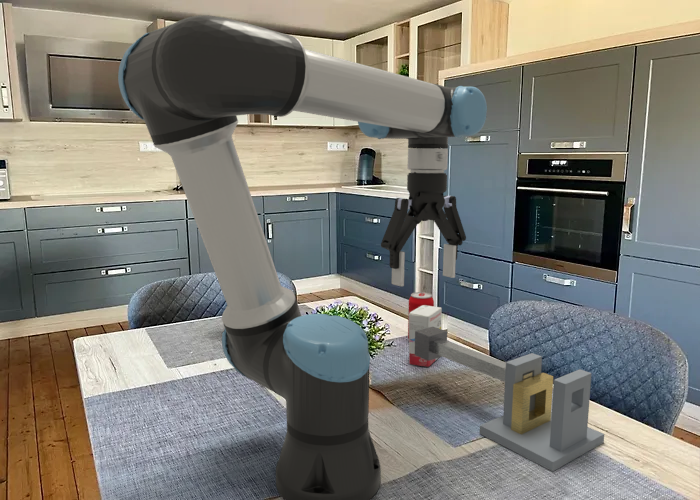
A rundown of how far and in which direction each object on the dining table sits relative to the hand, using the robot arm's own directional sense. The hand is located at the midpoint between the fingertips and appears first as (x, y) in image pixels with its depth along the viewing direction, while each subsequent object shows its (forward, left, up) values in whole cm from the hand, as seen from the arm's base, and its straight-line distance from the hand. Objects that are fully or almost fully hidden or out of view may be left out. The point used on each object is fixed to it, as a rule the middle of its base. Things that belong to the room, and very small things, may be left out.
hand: (424, 280), depth 109 cm
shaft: (+1, -12, -15) cm, 19 cm away
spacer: (+1, -25, -20) cm, 32 cm away
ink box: (+10, +10, -22) cm, 26 cm away
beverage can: (+18, +20, -22) cm, 35 cm away
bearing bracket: (+1, -27, -22) cm, 35 cm away
